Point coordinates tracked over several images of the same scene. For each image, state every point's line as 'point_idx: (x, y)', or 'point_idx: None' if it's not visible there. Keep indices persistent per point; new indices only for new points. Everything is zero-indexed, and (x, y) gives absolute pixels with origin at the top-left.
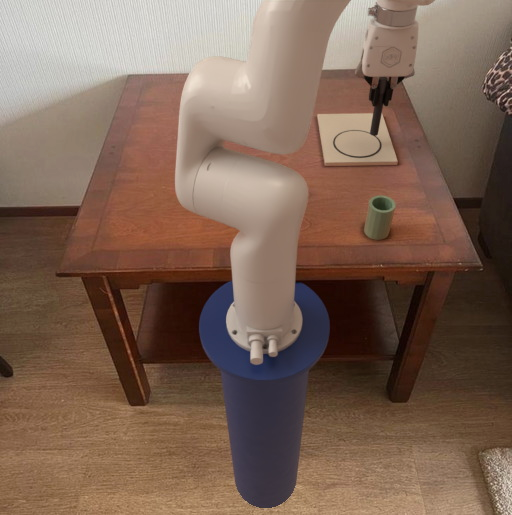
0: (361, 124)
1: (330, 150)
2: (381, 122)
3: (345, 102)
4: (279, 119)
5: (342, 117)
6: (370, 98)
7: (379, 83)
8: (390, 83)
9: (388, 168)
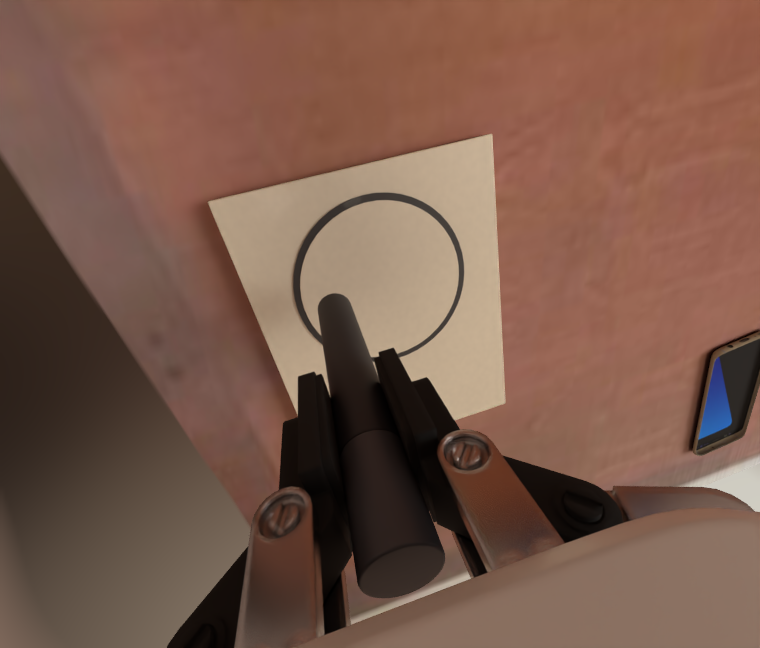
0: None
1: (472, 220)
2: None
3: None
4: None
5: None
6: (430, 384)
7: (420, 503)
8: (317, 534)
9: (241, 168)
